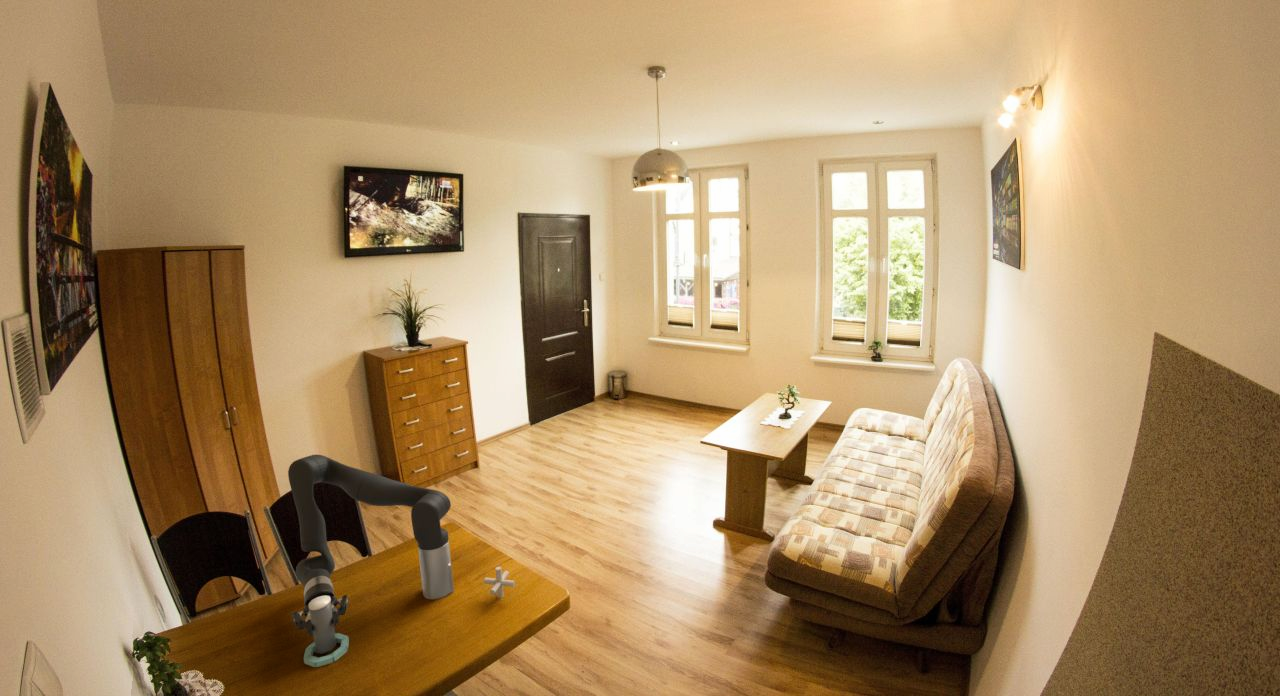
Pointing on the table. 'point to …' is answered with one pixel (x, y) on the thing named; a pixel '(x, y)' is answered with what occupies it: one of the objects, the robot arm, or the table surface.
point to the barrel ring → (327, 659)
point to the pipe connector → (499, 582)
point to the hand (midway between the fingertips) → (323, 627)
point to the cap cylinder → (322, 624)
